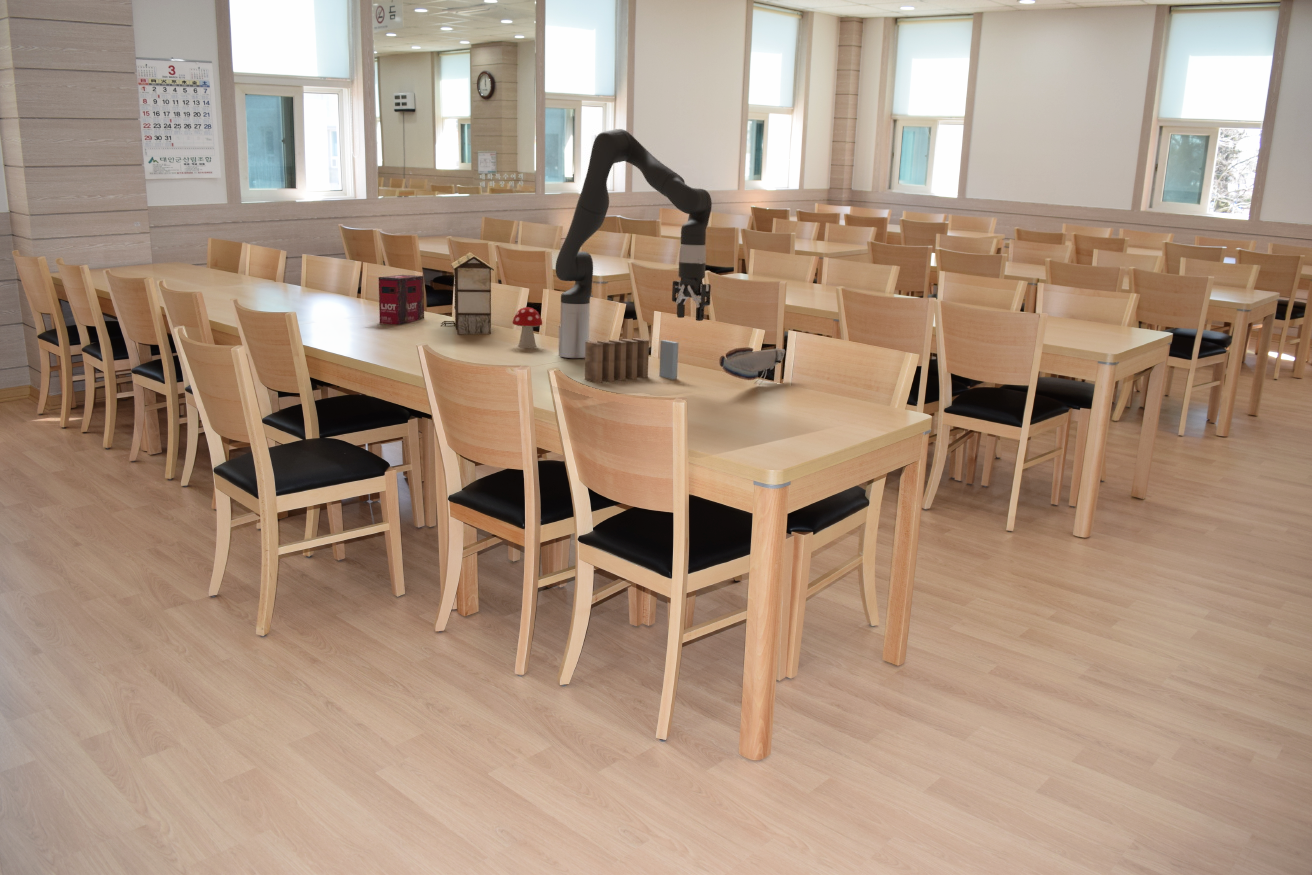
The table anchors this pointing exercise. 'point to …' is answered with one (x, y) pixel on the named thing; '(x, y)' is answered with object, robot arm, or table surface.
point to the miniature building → (472, 295)
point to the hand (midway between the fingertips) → (690, 319)
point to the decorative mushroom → (527, 326)
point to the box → (401, 299)
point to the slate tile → (668, 359)
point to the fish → (750, 362)
